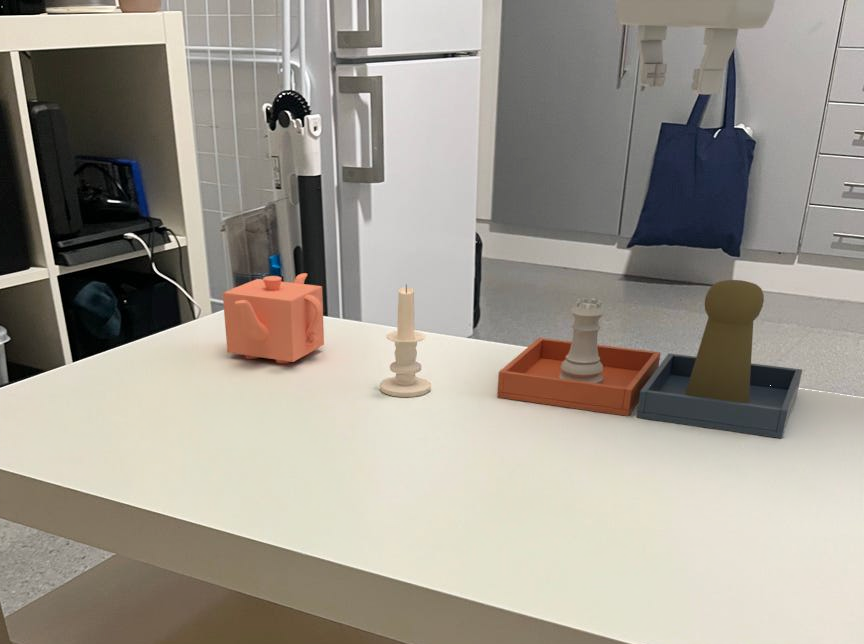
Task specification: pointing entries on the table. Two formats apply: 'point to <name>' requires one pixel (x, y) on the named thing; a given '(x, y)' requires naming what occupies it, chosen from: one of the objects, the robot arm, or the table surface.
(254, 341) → the teapot
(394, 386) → the candle
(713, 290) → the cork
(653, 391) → the slate tray
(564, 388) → the terracotta tray
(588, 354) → the rook chess piece
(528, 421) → the table surface
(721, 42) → the robot arm
